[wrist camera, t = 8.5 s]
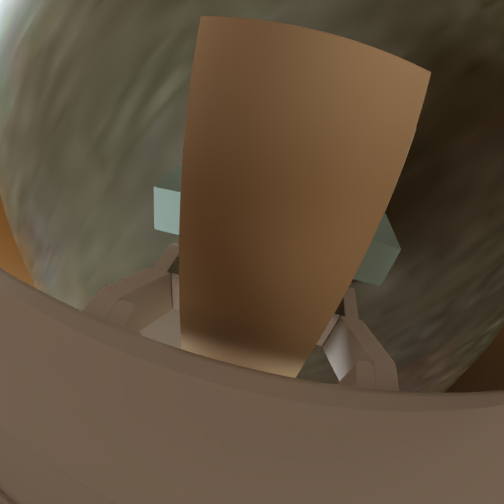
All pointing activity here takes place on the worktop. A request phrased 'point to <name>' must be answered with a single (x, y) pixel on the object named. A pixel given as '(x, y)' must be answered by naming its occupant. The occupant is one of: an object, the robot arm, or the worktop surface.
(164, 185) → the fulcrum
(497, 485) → the robot arm
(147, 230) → the worktop surface
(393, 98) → the batten
